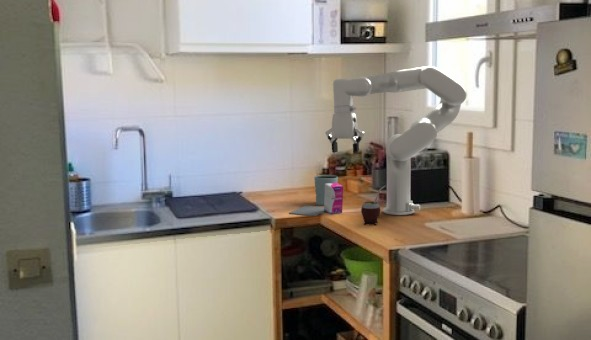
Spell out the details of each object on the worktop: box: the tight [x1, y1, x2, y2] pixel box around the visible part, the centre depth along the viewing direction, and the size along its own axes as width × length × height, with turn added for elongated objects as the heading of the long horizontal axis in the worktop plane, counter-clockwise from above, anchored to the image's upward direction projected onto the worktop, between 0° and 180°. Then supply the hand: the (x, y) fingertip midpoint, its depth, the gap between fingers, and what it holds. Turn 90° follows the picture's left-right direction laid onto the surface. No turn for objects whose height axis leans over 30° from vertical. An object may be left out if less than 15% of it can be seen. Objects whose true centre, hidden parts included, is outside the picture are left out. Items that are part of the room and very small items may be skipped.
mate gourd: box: [360, 184, 387, 226], centre depth 244 cm, size 8×8×15 cm
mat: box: [288, 205, 326, 217], centre depth 268 cm, size 12×15×1 cm
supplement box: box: [323, 182, 344, 215], centre depth 264 cm, size 6×6×12 cm
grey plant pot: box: [313, 174, 339, 207], centre depth 281 cm, size 10×10×12 cm
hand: (345, 152), depth 261 cm, fingers open, 9 cm apart
